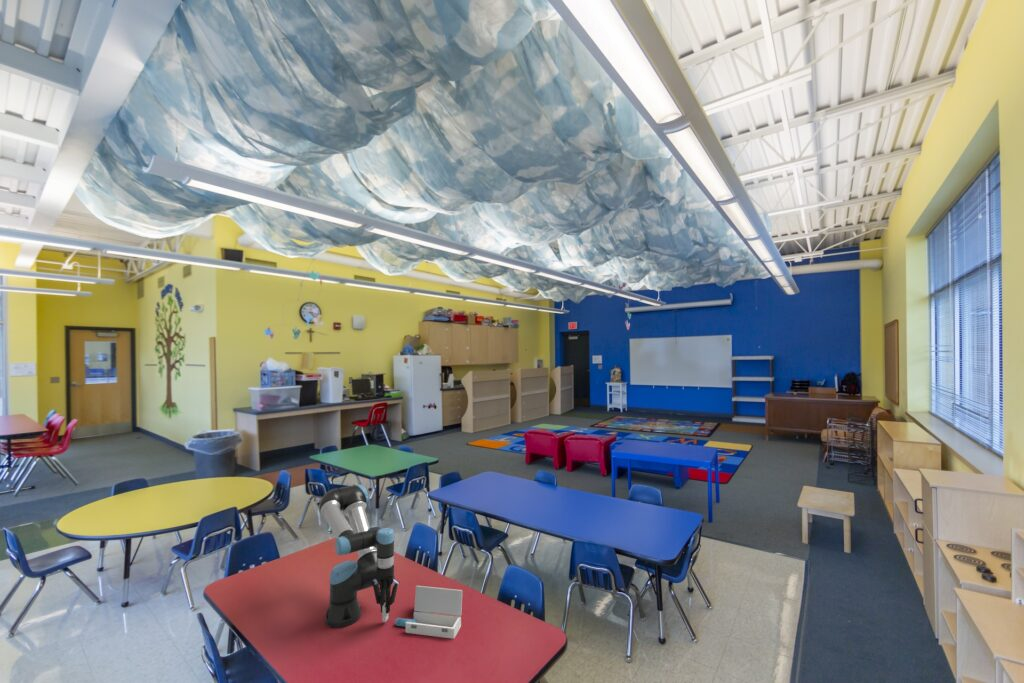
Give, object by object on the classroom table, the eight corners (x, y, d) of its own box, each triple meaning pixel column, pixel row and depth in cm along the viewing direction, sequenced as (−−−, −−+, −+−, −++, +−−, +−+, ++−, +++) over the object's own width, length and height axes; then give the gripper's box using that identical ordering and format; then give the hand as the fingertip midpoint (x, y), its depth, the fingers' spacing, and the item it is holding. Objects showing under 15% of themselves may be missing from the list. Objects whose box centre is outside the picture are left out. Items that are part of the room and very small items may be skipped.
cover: (415, 586, 197) (417, 585, 198) (414, 610, 195) (415, 609, 196) (461, 590, 192) (462, 589, 194) (460, 615, 190) (461, 614, 191)
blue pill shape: (393, 627, 190) (393, 619, 191) (397, 623, 193) (397, 616, 194) (415, 629, 188) (415, 622, 188) (417, 625, 191) (417, 618, 191)
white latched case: (404, 633, 185) (404, 623, 186) (414, 620, 195) (414, 611, 195) (453, 639, 181) (453, 629, 181) (461, 626, 190) (461, 616, 190)
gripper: (367, 568, 192) (367, 623, 191) (394, 570, 189) (394, 626, 188) (376, 560, 200) (376, 613, 198) (402, 562, 197) (402, 616, 195)
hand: (385, 619), depth 193 cm, fingers closed
